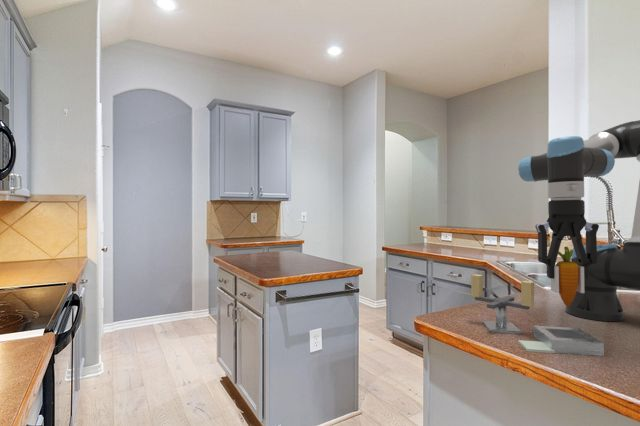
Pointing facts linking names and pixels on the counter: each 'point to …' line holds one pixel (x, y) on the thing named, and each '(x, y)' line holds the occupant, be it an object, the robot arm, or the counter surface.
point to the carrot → (567, 277)
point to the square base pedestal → (501, 323)
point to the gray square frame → (568, 340)
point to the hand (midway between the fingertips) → (567, 291)
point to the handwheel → (526, 297)
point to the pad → (535, 346)
